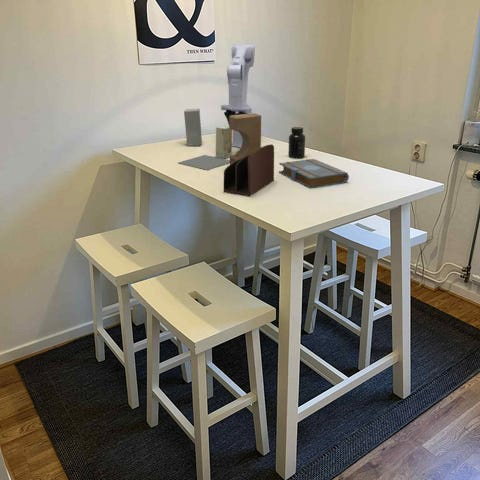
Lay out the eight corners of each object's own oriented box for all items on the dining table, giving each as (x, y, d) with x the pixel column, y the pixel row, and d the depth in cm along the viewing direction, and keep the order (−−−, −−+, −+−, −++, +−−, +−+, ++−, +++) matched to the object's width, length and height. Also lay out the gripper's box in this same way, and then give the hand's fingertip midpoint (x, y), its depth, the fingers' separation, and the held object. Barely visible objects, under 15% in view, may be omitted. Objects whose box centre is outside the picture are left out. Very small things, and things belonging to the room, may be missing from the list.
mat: (204, 155, 204) (204, 154, 204) (233, 161, 195) (233, 161, 195) (177, 163, 193) (177, 162, 193) (206, 170, 184) (206, 169, 183)
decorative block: (235, 171, 182) (235, 117, 174) (229, 167, 187) (228, 115, 179) (261, 167, 187) (262, 115, 179) (254, 164, 192) (254, 113, 183)
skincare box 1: (200, 146, 219) (199, 110, 212) (185, 146, 219) (183, 110, 213) (202, 142, 227) (201, 107, 220) (187, 142, 227) (185, 107, 220)
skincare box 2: (224, 158, 198) (224, 128, 193) (215, 157, 200) (215, 127, 195) (232, 156, 203) (232, 126, 199) (223, 154, 205) (223, 125, 201)
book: (348, 183, 170) (349, 169, 168) (308, 190, 164) (309, 175, 162) (314, 168, 187) (315, 156, 185) (277, 174, 181) (278, 161, 179)
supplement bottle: (304, 154, 205) (305, 126, 200) (304, 158, 199) (306, 129, 194) (288, 154, 206) (289, 126, 201) (288, 158, 200) (289, 129, 195)
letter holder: (274, 181, 172) (275, 141, 166) (249, 197, 156) (250, 154, 150) (249, 177, 176) (249, 138, 170) (222, 192, 160) (222, 150, 154)
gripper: (215, 95, 199) (216, 128, 204) (243, 98, 190) (243, 132, 196) (227, 93, 204) (227, 126, 209) (254, 96, 195) (253, 130, 201)
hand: (235, 129), depth 203 cm, fingers open, 4 cm apart
